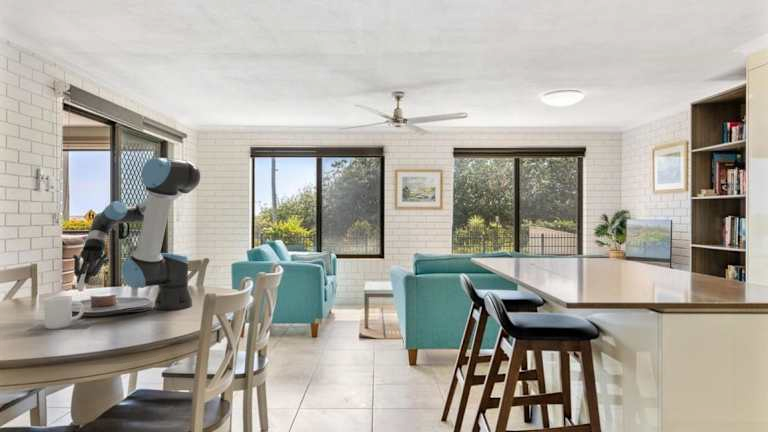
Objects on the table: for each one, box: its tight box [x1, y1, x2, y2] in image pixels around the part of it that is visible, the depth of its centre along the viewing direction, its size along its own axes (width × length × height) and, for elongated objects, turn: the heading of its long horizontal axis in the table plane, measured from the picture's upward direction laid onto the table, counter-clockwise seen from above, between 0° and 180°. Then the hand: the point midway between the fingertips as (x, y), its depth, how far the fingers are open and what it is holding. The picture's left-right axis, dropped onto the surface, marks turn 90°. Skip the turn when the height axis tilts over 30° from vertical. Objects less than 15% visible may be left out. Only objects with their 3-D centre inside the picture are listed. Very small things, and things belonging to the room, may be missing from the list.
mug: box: [43, 295, 85, 329], centre depth 173 cm, size 12×8×10 cm
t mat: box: [26, 319, 96, 332], centre depth 175 cm, size 19×14×1 cm
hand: (80, 289), depth 187 cm, fingers closed
